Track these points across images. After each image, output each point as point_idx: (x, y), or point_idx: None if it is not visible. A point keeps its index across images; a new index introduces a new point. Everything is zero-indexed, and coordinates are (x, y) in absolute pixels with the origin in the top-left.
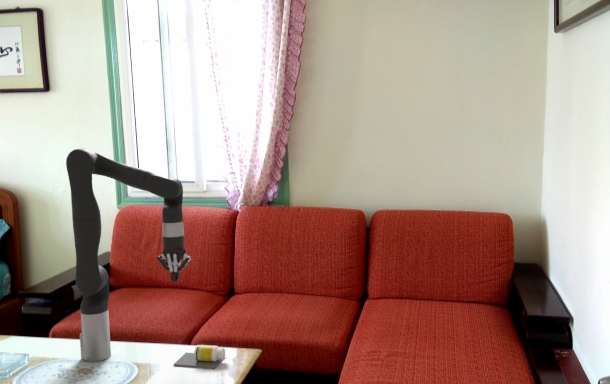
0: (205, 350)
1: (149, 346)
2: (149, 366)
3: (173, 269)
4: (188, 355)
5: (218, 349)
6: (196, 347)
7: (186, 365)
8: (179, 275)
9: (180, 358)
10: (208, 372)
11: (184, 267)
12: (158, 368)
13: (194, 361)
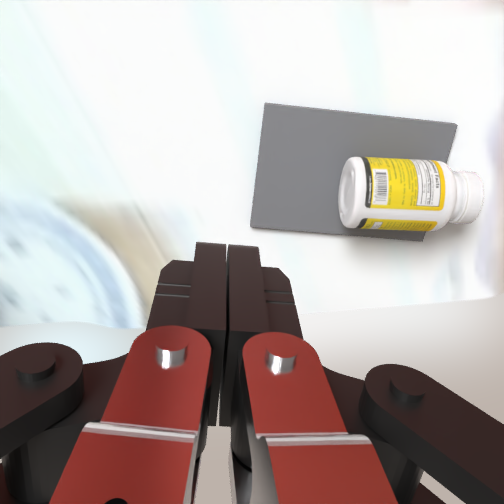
0: (400, 227)
1: (26, 11)
2: (152, 237)
3: (203, 447)
4: (287, 137)
5: (459, 209)
6: (357, 219)
7: (306, 230)
8: (294, 313)
9: (260, 172)
10: (401, 264)
11: (450, 419)
12: None
13: (331, 197)
